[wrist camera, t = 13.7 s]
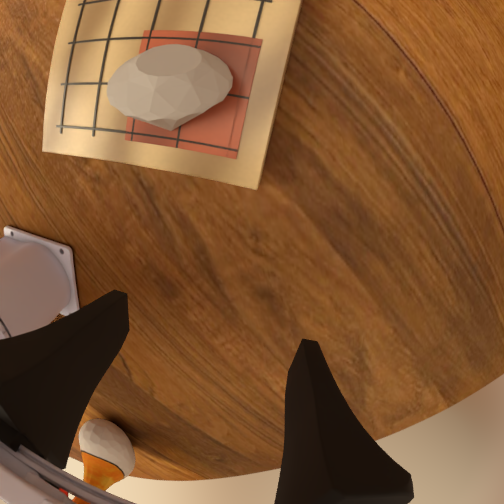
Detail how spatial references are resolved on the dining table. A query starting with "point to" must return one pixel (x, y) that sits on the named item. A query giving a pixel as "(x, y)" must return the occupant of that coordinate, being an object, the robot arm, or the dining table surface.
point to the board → (157, 34)
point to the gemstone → (169, 85)
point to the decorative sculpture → (103, 455)
